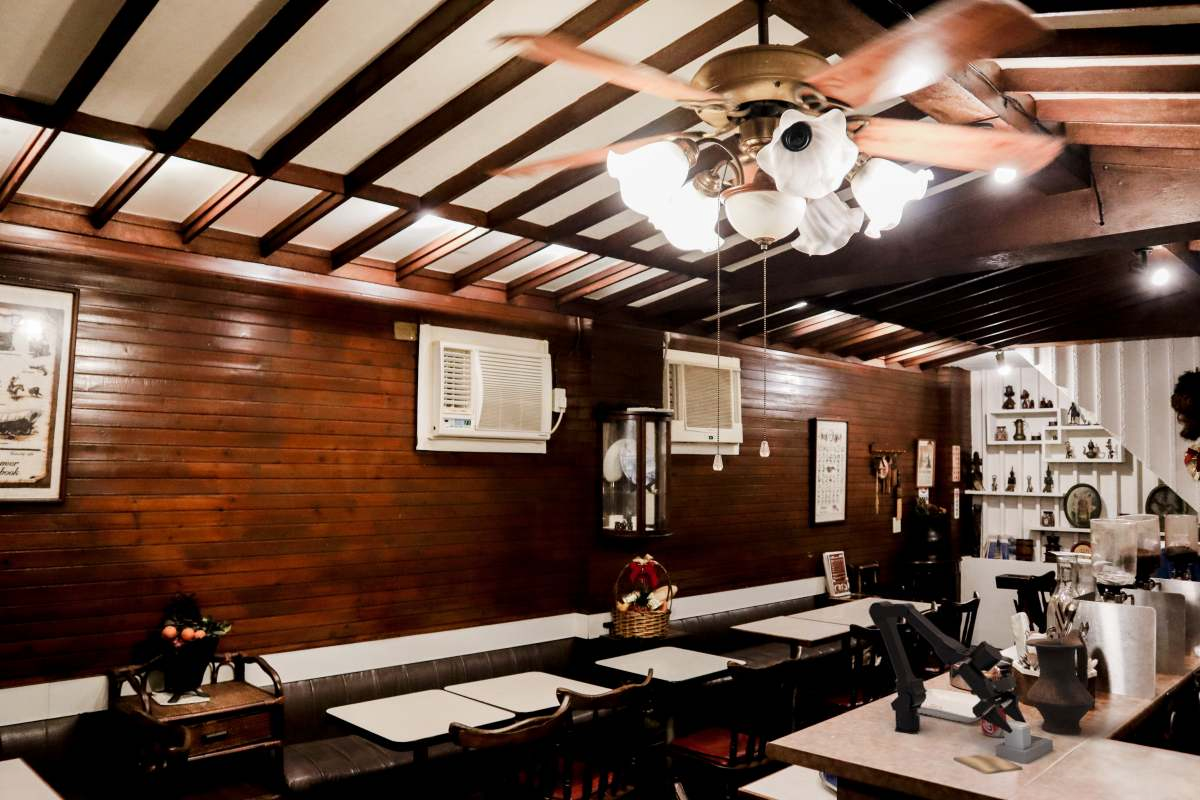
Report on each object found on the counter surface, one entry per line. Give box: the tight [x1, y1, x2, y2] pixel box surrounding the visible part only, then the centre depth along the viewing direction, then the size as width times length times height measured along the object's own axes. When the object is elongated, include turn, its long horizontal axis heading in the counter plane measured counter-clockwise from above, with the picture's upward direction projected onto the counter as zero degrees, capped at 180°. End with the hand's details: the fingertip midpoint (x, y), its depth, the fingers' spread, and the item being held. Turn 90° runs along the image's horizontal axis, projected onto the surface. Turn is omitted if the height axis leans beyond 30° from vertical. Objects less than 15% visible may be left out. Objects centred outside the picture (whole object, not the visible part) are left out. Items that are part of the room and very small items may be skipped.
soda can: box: [980, 700, 1007, 738], centre depth 257 cm, size 7×7×12 cm
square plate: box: [918, 688, 981, 724], centre depth 283 cm, size 27×27×4 cm
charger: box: [1003, 719, 1032, 750], centre depth 236 cm, size 5×5×9 cm
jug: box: [1025, 628, 1096, 735], centre depth 262 cm, size 21×18×30 cm
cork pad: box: [953, 753, 1023, 775], centre depth 229 cm, size 12×12×1 cm
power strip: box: [994, 734, 1054, 765], centre depth 239 cm, size 18×8×3 cm, turn 131°
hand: (1018, 729), depth 236 cm, fingers open, 9 cm apart
